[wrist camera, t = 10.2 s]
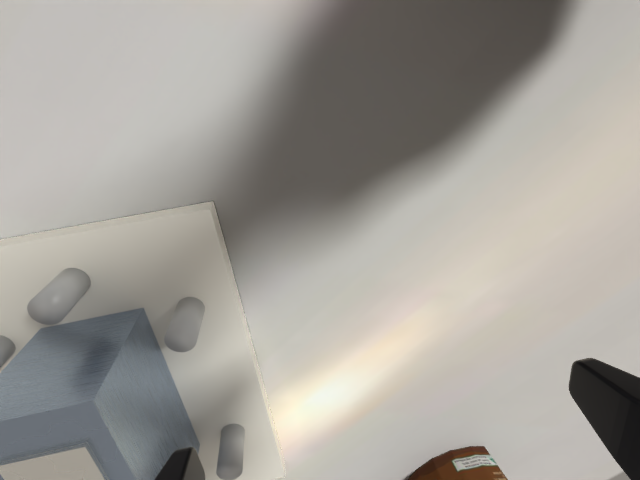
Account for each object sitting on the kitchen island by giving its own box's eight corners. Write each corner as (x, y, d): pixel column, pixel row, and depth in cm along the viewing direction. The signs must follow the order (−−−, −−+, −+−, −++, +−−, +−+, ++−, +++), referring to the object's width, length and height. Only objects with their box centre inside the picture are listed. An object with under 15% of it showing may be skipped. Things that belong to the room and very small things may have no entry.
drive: (143, 307, 19) (90, 405, 13) (199, 444, 23) (178, 564, 17) (40, 328, 18) (-60, 438, 13) (116, 463, 22) (66, 592, 17)
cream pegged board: (213, 200, 18) (201, 227, 15) (284, 460, 26) (287, 517, 23) (-88, 255, 17) (-174, 296, 14) (78, 507, 25) (48, 573, 22)
